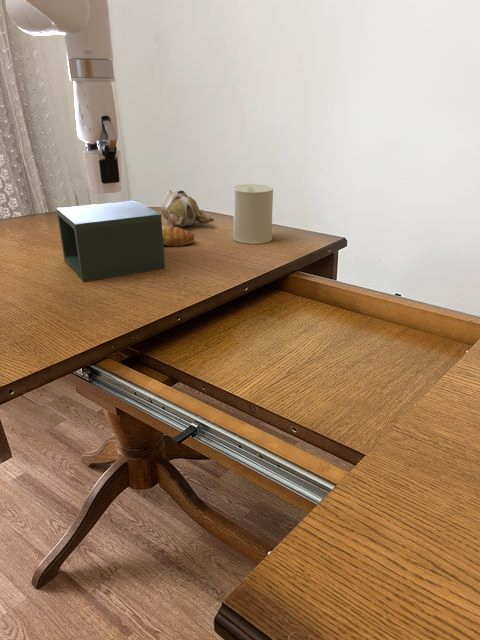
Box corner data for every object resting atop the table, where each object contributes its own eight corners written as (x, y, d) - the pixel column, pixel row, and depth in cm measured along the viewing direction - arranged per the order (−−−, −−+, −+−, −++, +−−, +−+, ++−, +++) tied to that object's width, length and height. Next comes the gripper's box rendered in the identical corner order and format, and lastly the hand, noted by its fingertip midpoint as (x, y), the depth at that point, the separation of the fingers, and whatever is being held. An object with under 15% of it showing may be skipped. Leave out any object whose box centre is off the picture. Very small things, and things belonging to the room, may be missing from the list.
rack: (83, 281, 99) (75, 224, 95) (64, 260, 110) (56, 208, 105) (164, 268, 107) (161, 214, 102) (139, 249, 118) (135, 200, 113)
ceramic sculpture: (187, 182, 141) (216, 196, 130) (188, 215, 145) (216, 231, 135) (149, 186, 135) (176, 201, 125) (151, 220, 140) (177, 237, 129)
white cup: (131, 188, 104) (127, 149, 101) (113, 195, 98) (108, 154, 95) (99, 185, 106) (94, 147, 102) (79, 192, 100) (74, 152, 97)
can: (228, 242, 123) (228, 188, 118) (237, 232, 132) (237, 181, 126) (268, 245, 122) (270, 190, 117) (275, 234, 130) (276, 183, 125)
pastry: (196, 239, 126) (195, 222, 124) (192, 247, 120) (191, 230, 118) (155, 238, 126) (154, 222, 124) (150, 247, 120) (148, 230, 118)
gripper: (57, 71, 98) (71, 173, 106) (83, 72, 85) (97, 189, 93) (98, 71, 101) (109, 171, 109) (130, 72, 88) (140, 185, 96)
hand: (104, 178), depth 101 cm, fingers closed on white cup, 6 cm apart
